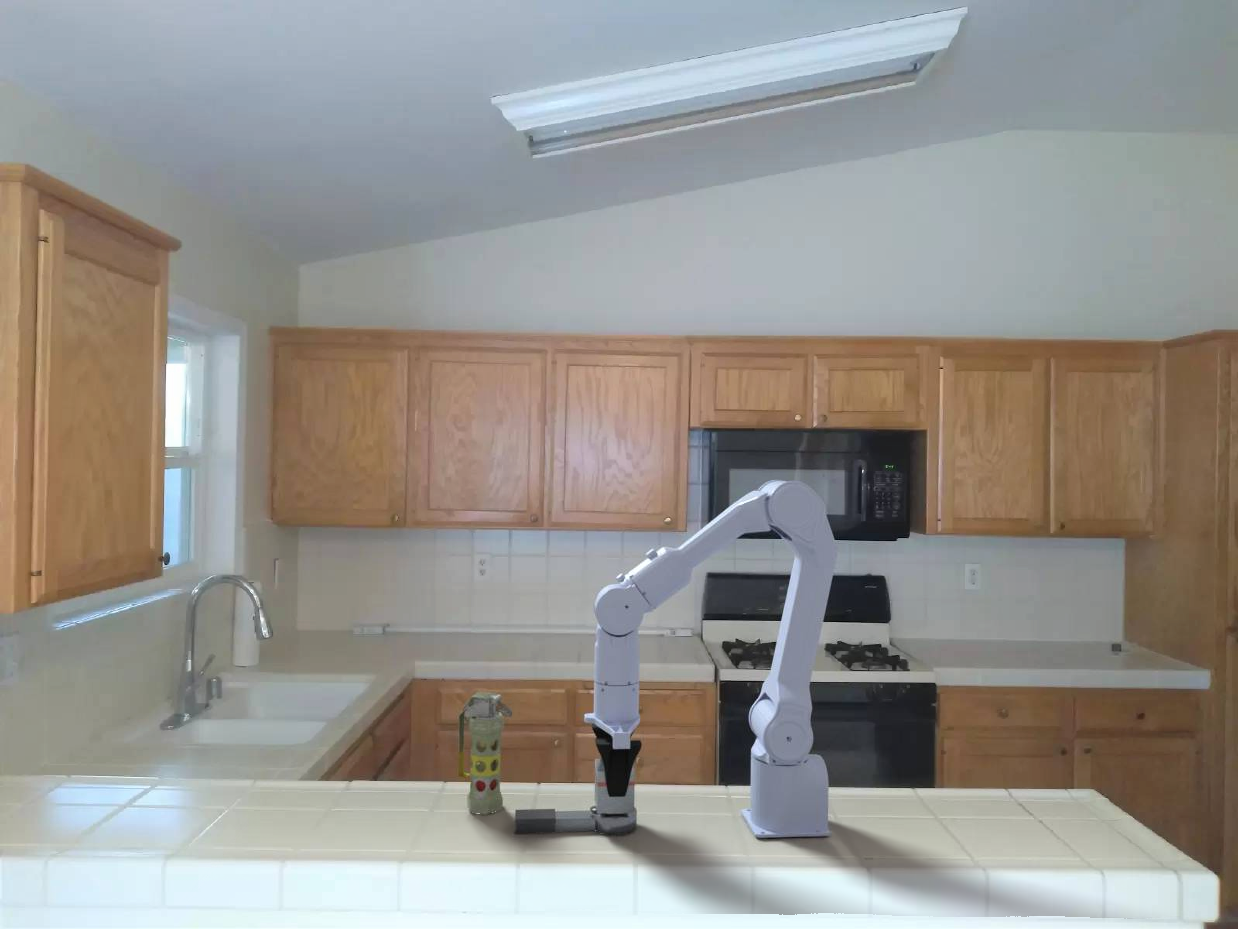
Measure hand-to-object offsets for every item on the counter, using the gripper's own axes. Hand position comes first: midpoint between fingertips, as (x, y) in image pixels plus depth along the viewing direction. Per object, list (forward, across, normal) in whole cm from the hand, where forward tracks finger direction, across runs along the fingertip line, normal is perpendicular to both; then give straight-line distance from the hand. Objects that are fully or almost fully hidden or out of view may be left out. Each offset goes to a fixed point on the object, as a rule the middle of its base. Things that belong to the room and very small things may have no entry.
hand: (614, 788), depth 109 cm
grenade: (+5, -8, -17) cm, 19 cm away
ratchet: (+5, 0, -5) cm, 7 cm away
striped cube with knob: (+2, 0, 0) cm, 2 cm away
